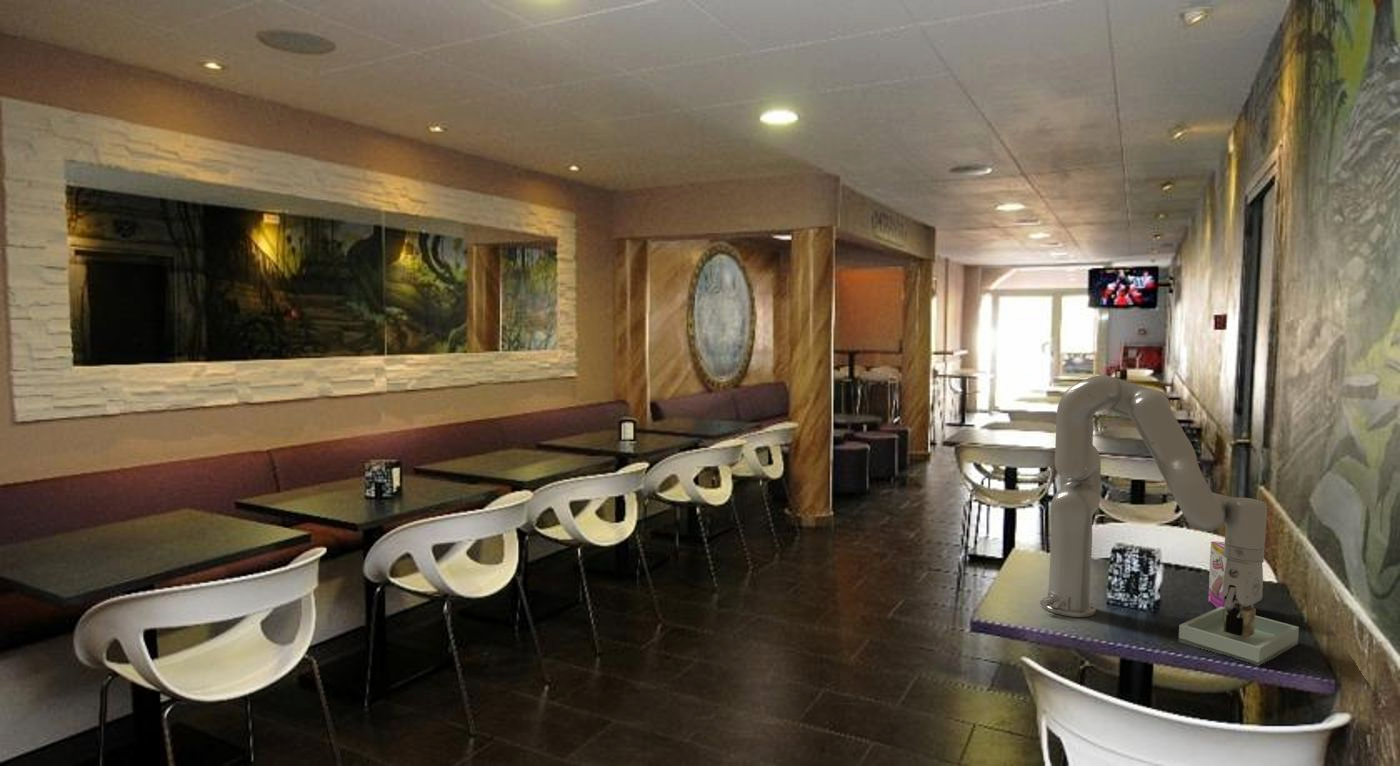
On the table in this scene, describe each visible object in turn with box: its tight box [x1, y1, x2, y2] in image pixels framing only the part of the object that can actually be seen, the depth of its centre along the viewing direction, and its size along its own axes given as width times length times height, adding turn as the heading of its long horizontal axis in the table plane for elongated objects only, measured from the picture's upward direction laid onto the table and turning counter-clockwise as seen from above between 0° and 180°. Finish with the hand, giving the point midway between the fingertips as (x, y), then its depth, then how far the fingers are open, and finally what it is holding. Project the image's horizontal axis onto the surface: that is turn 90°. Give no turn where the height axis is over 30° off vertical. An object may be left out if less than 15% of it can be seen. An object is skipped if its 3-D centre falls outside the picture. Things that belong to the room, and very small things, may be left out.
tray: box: [1178, 606, 1300, 667], centre depth 183 cm, size 22×16×4 cm
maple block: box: [1223, 606, 1257, 638], centre depth 182 cm, size 4×4×6 cm
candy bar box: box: [1207, 540, 1238, 609], centre depth 204 cm, size 11×5×16 cm, turn 168°
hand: (1238, 630), depth 183 cm, fingers closed on maple block, 4 cm apart
